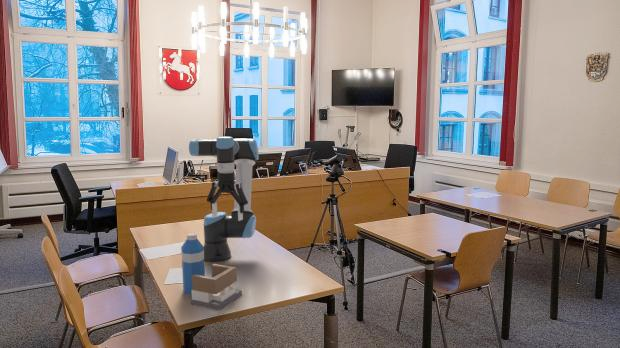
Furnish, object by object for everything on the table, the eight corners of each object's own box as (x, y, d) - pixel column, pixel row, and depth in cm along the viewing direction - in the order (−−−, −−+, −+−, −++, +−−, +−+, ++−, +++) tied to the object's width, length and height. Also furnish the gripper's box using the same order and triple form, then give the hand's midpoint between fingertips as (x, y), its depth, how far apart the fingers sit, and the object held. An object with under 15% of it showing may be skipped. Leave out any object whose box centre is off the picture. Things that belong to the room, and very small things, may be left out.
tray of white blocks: (191, 312, 186) (190, 289, 184) (214, 296, 200) (213, 276, 199) (220, 318, 180) (219, 295, 179) (242, 302, 195) (241, 280, 193)
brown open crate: (192, 290, 184) (191, 275, 183) (214, 277, 198) (214, 263, 197) (215, 294, 180) (215, 279, 179) (236, 280, 193) (236, 267, 192)
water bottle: (185, 286, 203) (182, 231, 199) (206, 285, 204) (204, 231, 200) (181, 295, 194) (178, 237, 190) (203, 294, 195) (201, 237, 191)
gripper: (197, 171, 204) (199, 217, 208) (245, 174, 195) (247, 223, 198) (207, 169, 211) (209, 214, 214) (254, 172, 201) (256, 219, 205)
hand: (227, 218), depth 206 cm, fingers open, 13 cm apart
